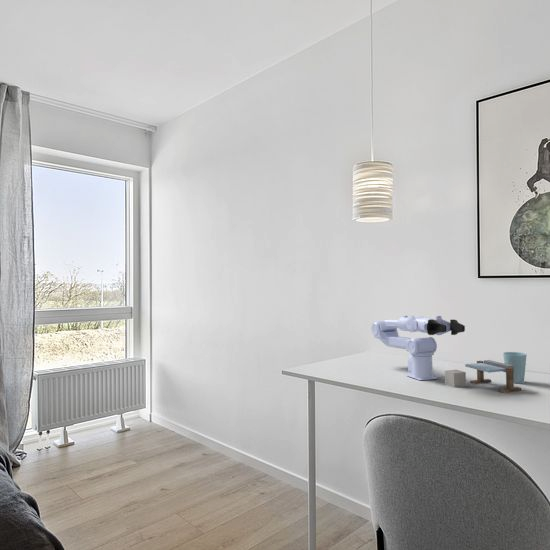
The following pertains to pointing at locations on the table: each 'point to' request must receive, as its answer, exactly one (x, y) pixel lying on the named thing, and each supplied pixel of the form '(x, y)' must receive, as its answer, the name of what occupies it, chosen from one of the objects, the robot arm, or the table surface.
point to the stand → (509, 380)
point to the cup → (516, 364)
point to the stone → (455, 378)
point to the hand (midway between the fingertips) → (454, 328)
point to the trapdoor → (490, 366)
